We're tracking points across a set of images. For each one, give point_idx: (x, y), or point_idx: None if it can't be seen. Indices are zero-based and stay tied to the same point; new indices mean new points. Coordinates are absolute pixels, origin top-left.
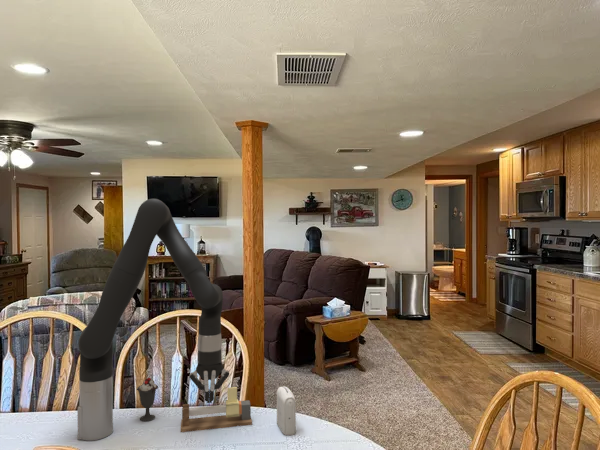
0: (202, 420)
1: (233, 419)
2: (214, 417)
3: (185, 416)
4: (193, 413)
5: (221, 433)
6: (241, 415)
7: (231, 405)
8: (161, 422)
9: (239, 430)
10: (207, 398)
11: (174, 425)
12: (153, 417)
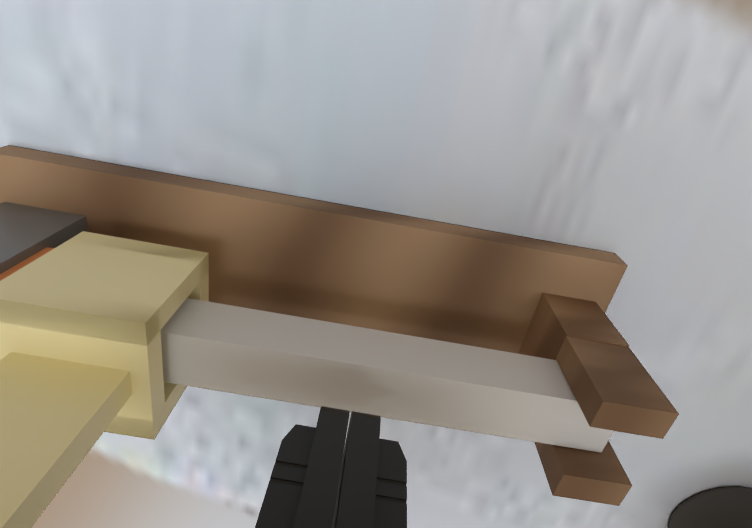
0: None
1: None
2: None
3: (603, 350)
4: (519, 367)
5: (294, 86)
6: None
7: (86, 302)
8: (668, 443)
9: (124, 78)
10: (372, 463)
11: None
12: (693, 510)
